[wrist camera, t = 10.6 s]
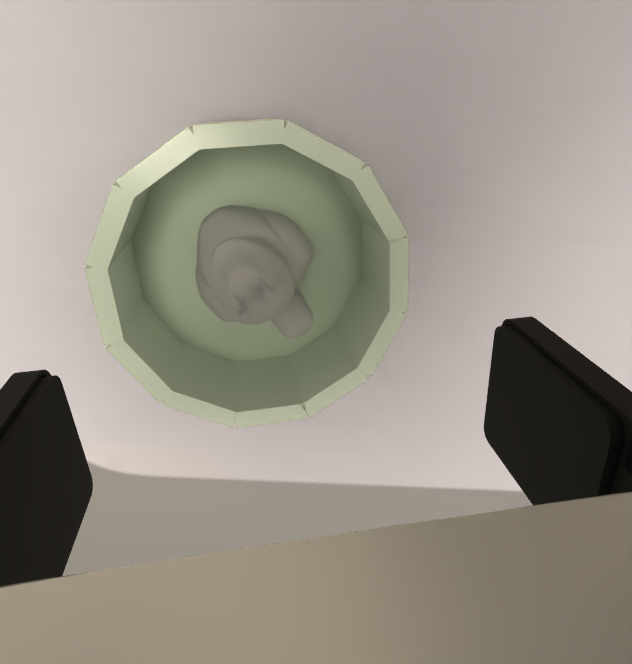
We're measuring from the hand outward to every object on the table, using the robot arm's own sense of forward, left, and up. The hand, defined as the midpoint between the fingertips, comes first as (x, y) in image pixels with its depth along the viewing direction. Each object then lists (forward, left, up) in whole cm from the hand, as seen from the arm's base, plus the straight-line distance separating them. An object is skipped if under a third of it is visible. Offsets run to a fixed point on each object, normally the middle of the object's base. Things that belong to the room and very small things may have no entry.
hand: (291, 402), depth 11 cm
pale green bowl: (+1, 0, -16) cm, 16 cm away
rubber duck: (+1, 0, -15) cm, 15 cm away
